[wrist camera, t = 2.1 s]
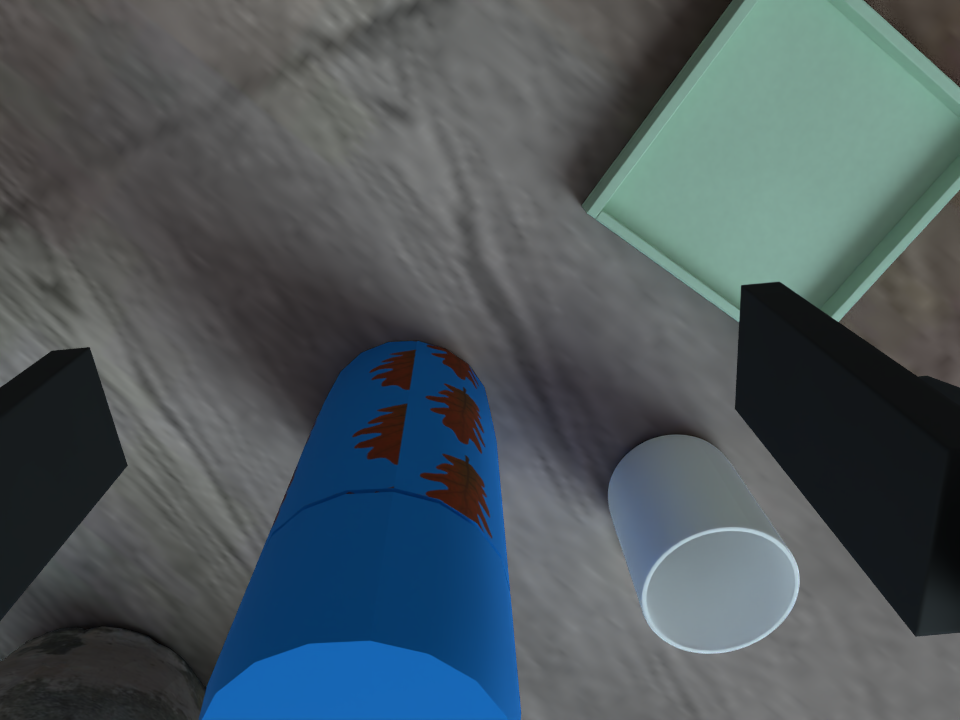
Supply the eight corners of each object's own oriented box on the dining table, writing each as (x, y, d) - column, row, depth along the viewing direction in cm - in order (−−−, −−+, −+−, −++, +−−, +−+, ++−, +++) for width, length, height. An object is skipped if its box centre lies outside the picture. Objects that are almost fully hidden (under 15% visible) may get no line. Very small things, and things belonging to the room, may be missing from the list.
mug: (687, 586, 52) (740, 709, 42) (578, 485, 49) (608, 593, 39) (785, 515, 50) (865, 627, 40) (678, 404, 47) (737, 497, 37)
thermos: (407, 515, 49) (359, 914, 26) (289, 413, 46) (117, 763, 23) (527, 418, 47) (591, 766, 24) (411, 302, 44) (355, 573, 21)
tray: (580, 205, 42) (586, 212, 40) (775, -59, 37) (792, -66, 35) (784, 352, 46) (798, 365, 44) (985, 130, 41) (1011, 133, 39)
